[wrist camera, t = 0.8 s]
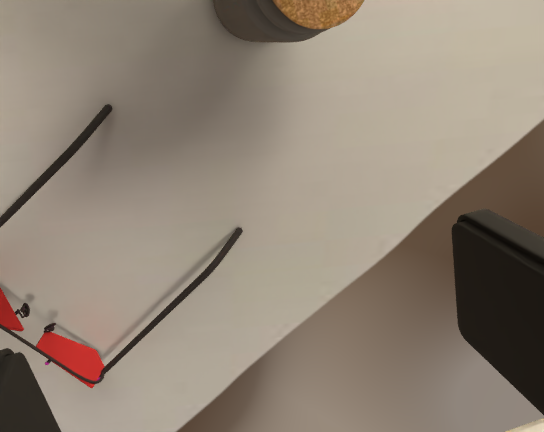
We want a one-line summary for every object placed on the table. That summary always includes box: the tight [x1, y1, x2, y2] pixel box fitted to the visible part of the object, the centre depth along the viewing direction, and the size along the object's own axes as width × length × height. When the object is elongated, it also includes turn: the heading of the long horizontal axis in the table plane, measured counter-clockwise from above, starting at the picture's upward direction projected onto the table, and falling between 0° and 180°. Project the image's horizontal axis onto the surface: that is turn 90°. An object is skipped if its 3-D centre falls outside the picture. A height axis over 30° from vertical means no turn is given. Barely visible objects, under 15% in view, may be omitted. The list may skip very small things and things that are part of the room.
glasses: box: [0, 104, 243, 388], centre depth 36 cm, size 14×16×5 cm
